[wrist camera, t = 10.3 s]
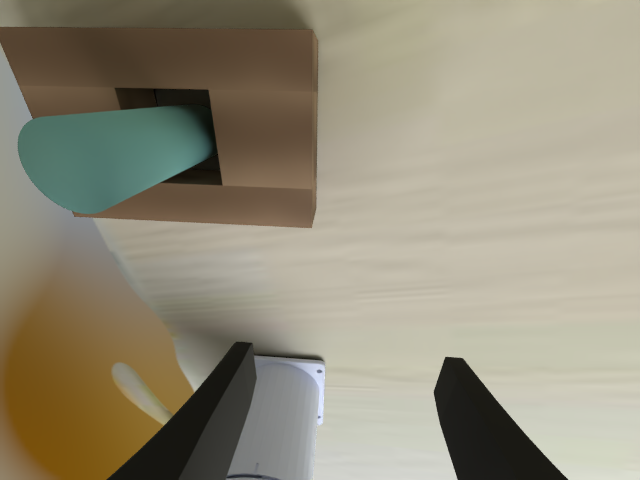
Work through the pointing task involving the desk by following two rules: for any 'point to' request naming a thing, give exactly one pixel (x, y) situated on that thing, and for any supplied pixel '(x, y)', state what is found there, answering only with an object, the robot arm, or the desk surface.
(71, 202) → the peg
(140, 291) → the desk surface
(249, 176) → the hole block
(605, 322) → the desk surface
